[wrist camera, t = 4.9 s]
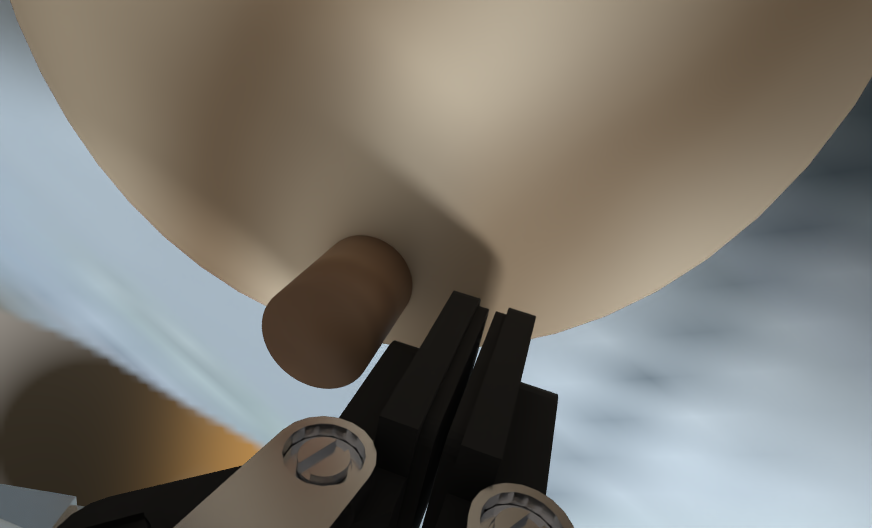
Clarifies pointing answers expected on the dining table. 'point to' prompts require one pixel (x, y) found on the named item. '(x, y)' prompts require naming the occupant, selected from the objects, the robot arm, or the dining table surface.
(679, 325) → the dining table surface
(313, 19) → the turntable
